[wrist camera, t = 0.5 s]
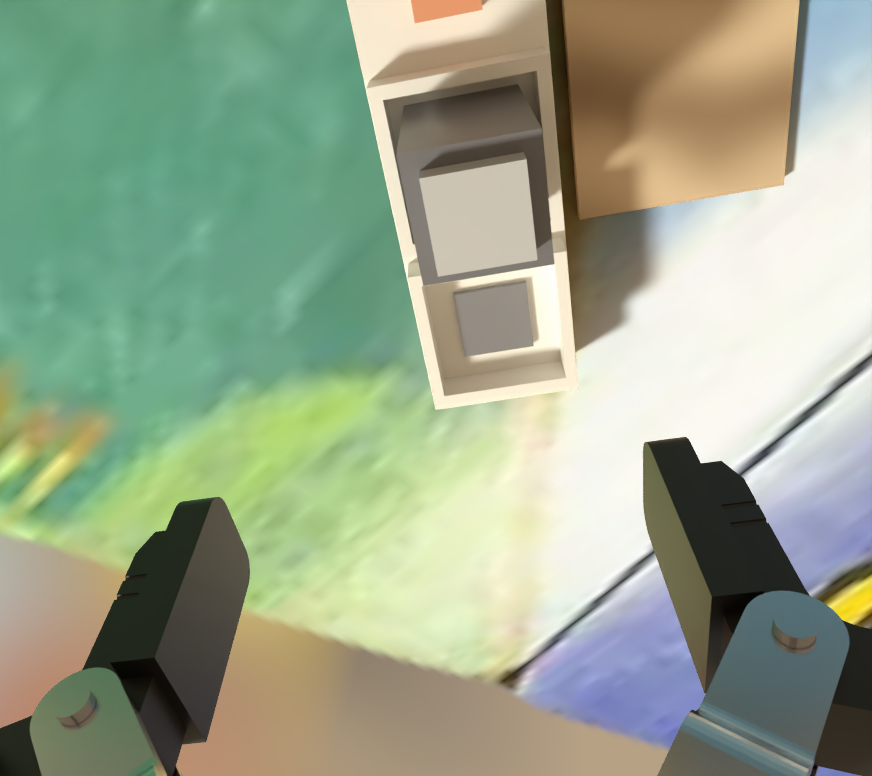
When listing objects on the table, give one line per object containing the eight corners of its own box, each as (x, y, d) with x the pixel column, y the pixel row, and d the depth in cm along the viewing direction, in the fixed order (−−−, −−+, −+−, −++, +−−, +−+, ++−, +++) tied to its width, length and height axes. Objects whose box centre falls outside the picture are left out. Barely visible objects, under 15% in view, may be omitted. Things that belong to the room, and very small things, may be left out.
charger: (403, 105, 28) (395, 162, 21) (517, 83, 27) (544, 134, 21) (424, 214, 30) (423, 296, 23) (530, 196, 30) (558, 274, 23)
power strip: (313, -198, 25) (292, -220, 21) (513, -245, 24) (528, -276, 21) (435, 377, 38) (435, 427, 34) (568, 356, 37) (583, 405, 33)
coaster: (561, -4, 28) (563, -2, 28) (797, -51, 27) (803, -50, 27) (577, 215, 33) (579, 219, 33) (778, 180, 32) (784, 184, 32)
